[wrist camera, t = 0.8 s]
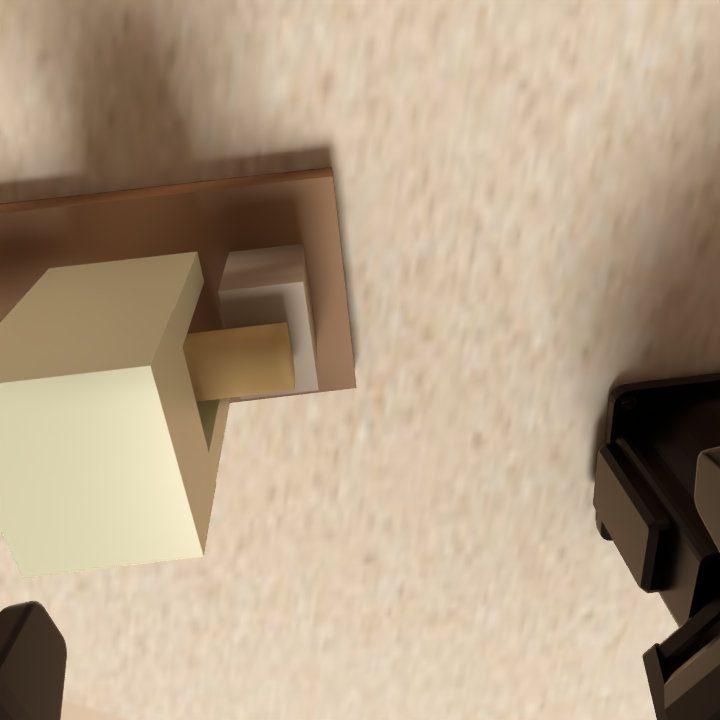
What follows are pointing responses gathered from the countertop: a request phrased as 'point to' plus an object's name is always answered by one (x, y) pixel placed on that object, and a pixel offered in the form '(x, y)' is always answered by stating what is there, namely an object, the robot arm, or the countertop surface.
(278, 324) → the cable stand
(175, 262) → the cream block
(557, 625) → the countertop surface
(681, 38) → the countertop surface
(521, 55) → the countertop surface
